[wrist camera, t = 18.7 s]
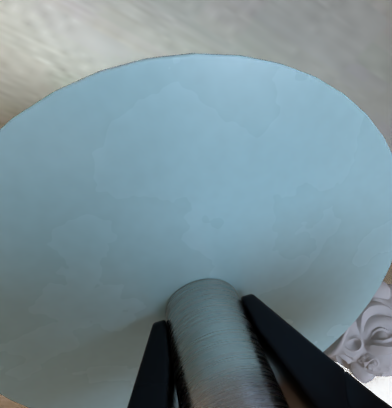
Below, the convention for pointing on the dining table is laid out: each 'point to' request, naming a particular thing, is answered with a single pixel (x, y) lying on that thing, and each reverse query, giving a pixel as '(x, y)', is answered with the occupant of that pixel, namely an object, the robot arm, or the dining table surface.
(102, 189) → the lid
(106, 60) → the dining table surface
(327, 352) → the grey carved lump
